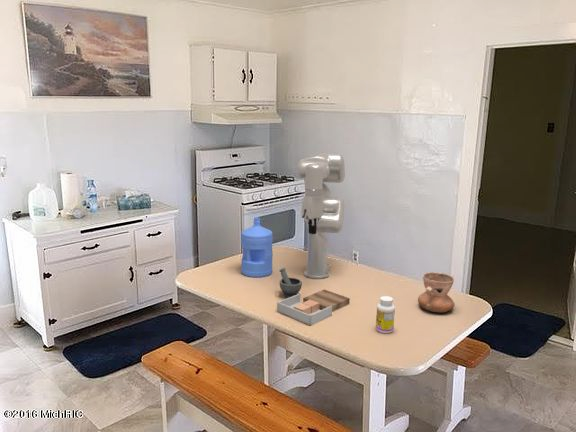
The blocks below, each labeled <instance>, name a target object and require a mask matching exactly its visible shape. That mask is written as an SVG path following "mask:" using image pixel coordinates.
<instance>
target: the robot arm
mask: <svg viewBox="0 0 576 432" xmlns="http://www.w3.org/2000/svg"><path fill="white" fill-rule="evenodd" d="M296 174H297V175H298V177H299V178H301V179H302V178H303V179H304V180H305V181H304V182H305V183H304V196H303V198H302V202H301V203H302V204H301V211H300V212H301V215H300V216H301V218H302V219H303V223H306V230H307V257H306V258H307V259H306V262H307V263H306V269H305V270H304V271H303V275H304V276H305V277H307V278H309V279H313V280H315V279H318V280H321V279H325V278H328V277H329V276H330V272H329V269H330V268H332V267H333V265H332V263H329V264H327V261H328V260H327V259H328V258H327V257H328V240H327V237H326V235H325V233H327V234H338V233H340V232H341V231H342V229H343V226H344V216H345V202H344V200H343V199H342V198H341V197H338V196H331V195H332V193H331V190H330V188H329V187H328V185H326V184H325V183H335V184H340V183H342V182H343V181H344V180H345V179H346V178H345V177H346V176H345V175H346V170H345V159H344V157H343V155H342V154H341V153H338V152H337V153H336V152H335V153H334V152H320V153H317V154H316V155H315V156H312V157H311V156H310V157H307V158H302V159H300V161H298V164H297V166H296Z"/></svg>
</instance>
